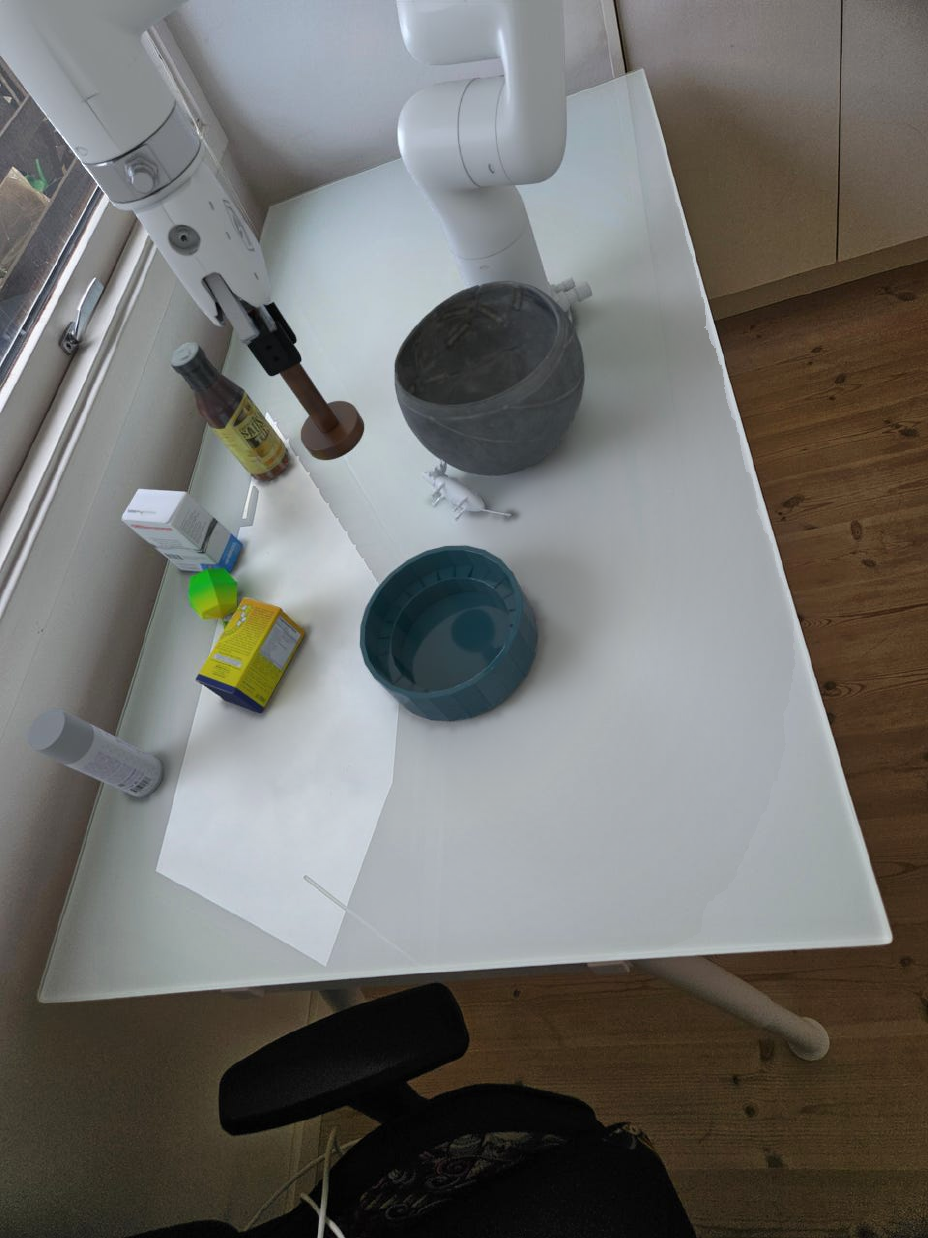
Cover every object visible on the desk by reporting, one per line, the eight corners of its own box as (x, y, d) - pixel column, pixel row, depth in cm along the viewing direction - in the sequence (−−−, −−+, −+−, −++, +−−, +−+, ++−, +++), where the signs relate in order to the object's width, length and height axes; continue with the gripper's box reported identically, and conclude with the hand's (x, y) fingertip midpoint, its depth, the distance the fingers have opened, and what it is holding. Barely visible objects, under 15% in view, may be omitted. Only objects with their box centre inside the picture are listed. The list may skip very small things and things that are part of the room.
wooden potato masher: (358, 402, 79) (275, 269, 67) (370, 442, 76) (285, 310, 63) (304, 429, 80) (211, 302, 67) (313, 470, 76) (218, 344, 64)
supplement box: (223, 701, 93) (270, 620, 97) (261, 715, 90) (308, 631, 94) (192, 679, 88) (242, 595, 92) (231, 693, 86) (282, 606, 89)
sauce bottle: (285, 481, 108) (194, 374, 92) (246, 485, 110) (151, 380, 94) (298, 443, 111) (213, 332, 95) (260, 447, 113) (170, 339, 97)
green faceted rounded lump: (191, 587, 102) (211, 652, 100) (169, 571, 96) (190, 639, 93) (243, 566, 102) (265, 630, 100) (225, 549, 96) (248, 616, 94)
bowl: (544, 349, 104) (515, 246, 91) (635, 442, 91) (615, 338, 79) (404, 434, 104) (356, 343, 91) (476, 539, 91) (432, 450, 79)
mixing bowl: (508, 553, 90) (490, 519, 84) (563, 680, 80) (546, 650, 75) (370, 618, 92) (344, 589, 87) (408, 750, 82) (381, 726, 77)
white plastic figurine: (407, 473, 92) (434, 447, 94) (413, 501, 97) (439, 475, 99) (490, 525, 88) (516, 496, 90) (492, 551, 93) (517, 523, 95)
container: (167, 755, 92) (71, 703, 80) (159, 795, 90) (58, 748, 78) (133, 759, 94) (33, 709, 82) (124, 799, 91) (20, 754, 79)
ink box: (245, 544, 105) (189, 488, 95) (229, 576, 103) (170, 523, 93) (195, 539, 109) (136, 486, 99) (179, 571, 107) (117, 519, 97)
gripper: (202, 183, 50) (339, 395, 65) (184, 80, 59) (308, 287, 74) (98, 239, 51) (256, 436, 66) (97, 130, 60) (236, 325, 75)
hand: (283, 356), depth 70 cm, fingers closed on wooden potato masher
